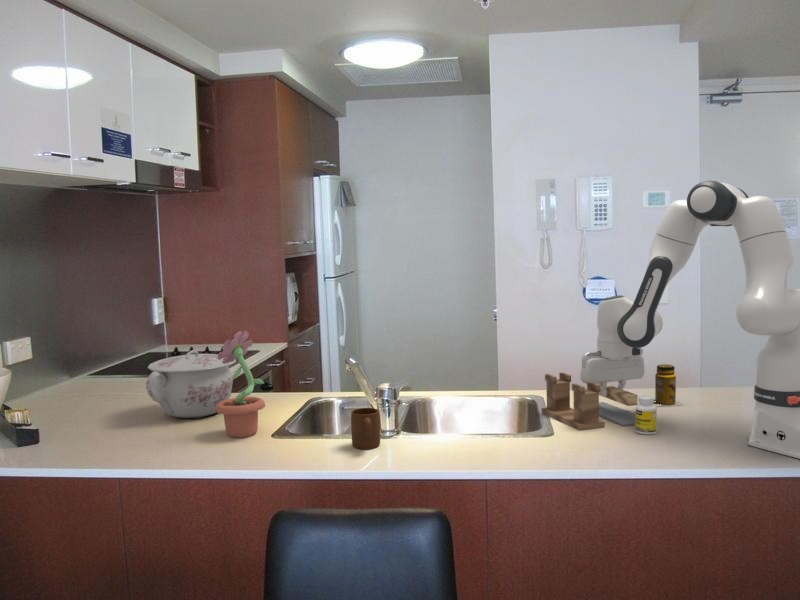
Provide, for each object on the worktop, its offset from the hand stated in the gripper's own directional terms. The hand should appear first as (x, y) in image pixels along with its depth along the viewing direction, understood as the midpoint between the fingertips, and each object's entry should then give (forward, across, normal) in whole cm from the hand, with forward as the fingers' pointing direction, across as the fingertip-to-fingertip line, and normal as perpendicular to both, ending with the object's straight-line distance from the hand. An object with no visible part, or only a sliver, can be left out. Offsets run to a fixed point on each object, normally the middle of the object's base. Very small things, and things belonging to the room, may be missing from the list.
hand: (612, 395), depth 214 cm
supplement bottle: (+6, -3, -20) cm, 21 cm away
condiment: (+6, +22, +5) cm, 23 cm away
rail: (-1, 0, 0) cm, 1 cm away
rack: (+6, -14, 0) cm, 15 cm away
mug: (+6, -77, -2) cm, 77 cm away
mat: (+6, 0, 0) cm, 6 cm away
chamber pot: (+6, -118, +56) cm, 131 cm away
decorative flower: (+6, -106, +25) cm, 109 cm away
